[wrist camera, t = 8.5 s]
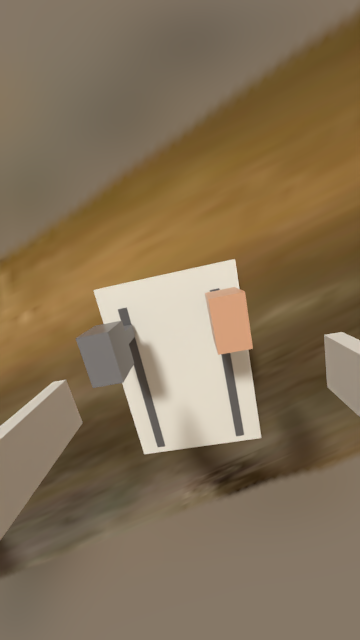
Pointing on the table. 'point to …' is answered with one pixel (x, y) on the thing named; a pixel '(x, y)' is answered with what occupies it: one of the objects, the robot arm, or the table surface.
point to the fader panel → (182, 361)
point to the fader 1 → (107, 353)
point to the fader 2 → (229, 320)
